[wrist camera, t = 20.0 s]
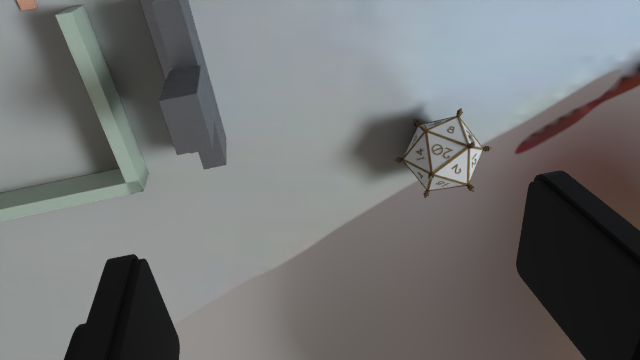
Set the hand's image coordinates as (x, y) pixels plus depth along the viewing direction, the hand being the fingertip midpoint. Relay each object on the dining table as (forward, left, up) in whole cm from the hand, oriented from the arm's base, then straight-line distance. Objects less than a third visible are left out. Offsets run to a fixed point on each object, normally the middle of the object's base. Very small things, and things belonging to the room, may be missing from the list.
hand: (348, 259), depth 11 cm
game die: (+16, +15, -35) cm, 41 cm away
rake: (+4, -7, -34) cm, 35 cm away
